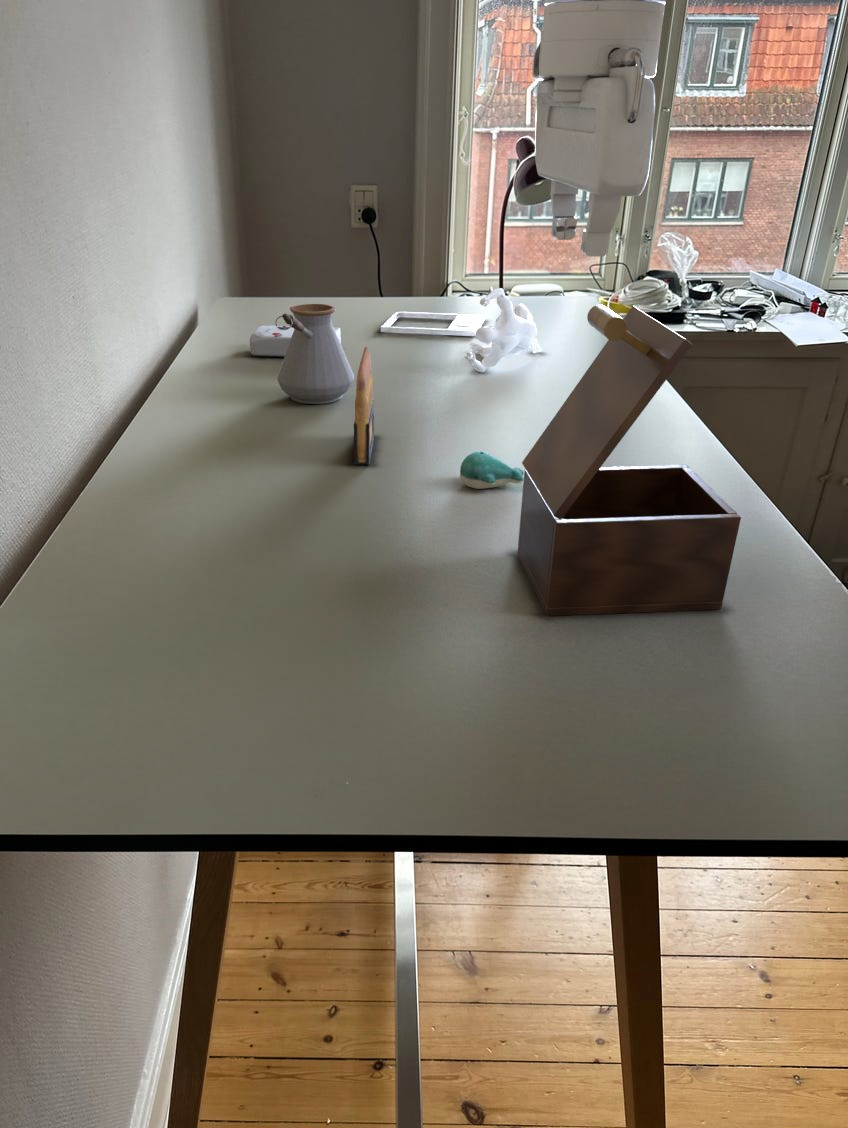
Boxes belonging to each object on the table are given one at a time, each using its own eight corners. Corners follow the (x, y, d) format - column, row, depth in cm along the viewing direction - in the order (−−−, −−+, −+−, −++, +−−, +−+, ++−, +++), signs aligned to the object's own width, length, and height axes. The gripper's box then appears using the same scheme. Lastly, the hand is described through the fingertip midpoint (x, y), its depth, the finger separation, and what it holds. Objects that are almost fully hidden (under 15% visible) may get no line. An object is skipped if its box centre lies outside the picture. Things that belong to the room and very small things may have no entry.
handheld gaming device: (261, 345, 166) (260, 324, 164) (341, 348, 164) (340, 326, 162) (248, 358, 159) (246, 336, 157) (331, 361, 157) (330, 338, 155)
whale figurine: (462, 474, 110) (463, 443, 108) (523, 477, 109) (526, 446, 107) (457, 491, 105) (458, 460, 103) (522, 495, 104) (524, 463, 102)
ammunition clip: (369, 465, 113) (368, 366, 106) (354, 465, 113) (352, 366, 107) (374, 437, 122) (373, 344, 116) (360, 437, 122) (359, 344, 116)
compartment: (671, 548, 92) (686, 464, 87) (721, 609, 81) (741, 517, 76) (517, 554, 91) (524, 469, 86) (546, 616, 80) (556, 523, 75)
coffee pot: (290, 384, 144) (285, 283, 136) (361, 388, 142) (360, 286, 134) (248, 426, 126) (239, 313, 118) (329, 431, 124) (326, 316, 116)
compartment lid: (639, 310, 79) (593, 277, 78) (693, 344, 69) (640, 307, 67) (528, 466, 86) (483, 439, 85) (561, 520, 75) (510, 490, 74)
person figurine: (483, 284, 158) (484, 283, 141) (555, 303, 157) (564, 304, 141) (462, 361, 162) (461, 369, 146) (532, 379, 162) (539, 389, 145)
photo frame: (475, 330, 170) (380, 325, 174) (474, 336, 171) (380, 331, 175) (485, 314, 183) (396, 310, 186) (484, 319, 183) (396, 316, 187)
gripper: (690, 45, 61) (656, 266, 68) (600, 56, 79) (581, 230, 86) (598, 45, 61) (573, 267, 68) (528, 55, 78) (514, 231, 85)
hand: (577, 246), depth 77 cm, fingers open, 8 cm apart
